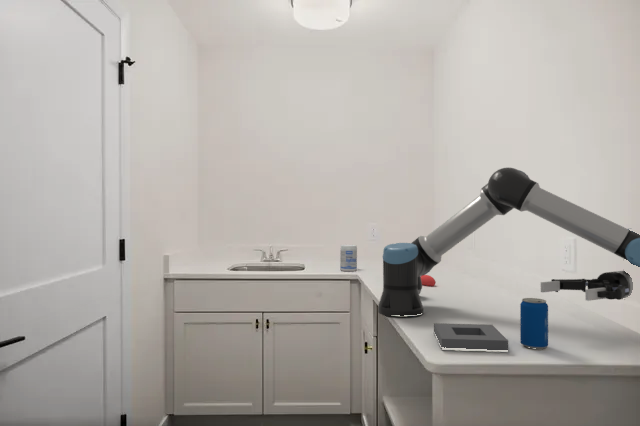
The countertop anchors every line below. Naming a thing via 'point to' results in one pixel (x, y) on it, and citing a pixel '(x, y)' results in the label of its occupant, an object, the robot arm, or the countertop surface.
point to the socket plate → (470, 336)
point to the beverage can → (534, 323)
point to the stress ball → (427, 280)
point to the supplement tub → (348, 258)
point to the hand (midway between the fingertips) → (563, 291)
